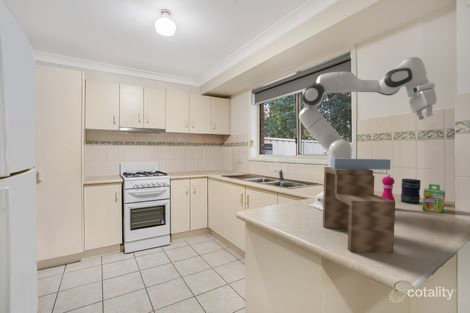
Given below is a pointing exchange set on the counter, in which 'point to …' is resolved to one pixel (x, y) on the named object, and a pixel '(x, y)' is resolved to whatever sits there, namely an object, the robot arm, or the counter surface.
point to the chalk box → (433, 199)
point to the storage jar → (410, 191)
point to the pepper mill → (388, 187)
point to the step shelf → (358, 210)
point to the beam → (360, 163)
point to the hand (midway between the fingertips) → (425, 117)
